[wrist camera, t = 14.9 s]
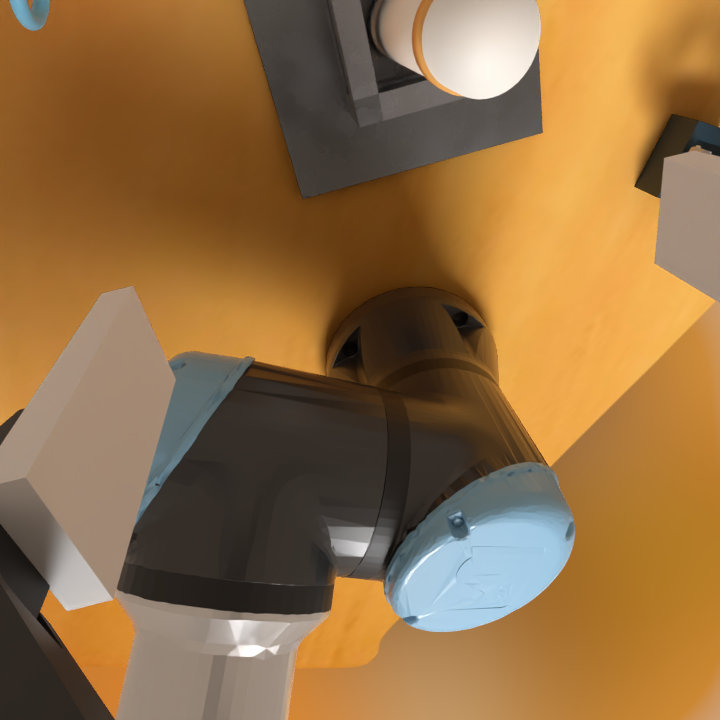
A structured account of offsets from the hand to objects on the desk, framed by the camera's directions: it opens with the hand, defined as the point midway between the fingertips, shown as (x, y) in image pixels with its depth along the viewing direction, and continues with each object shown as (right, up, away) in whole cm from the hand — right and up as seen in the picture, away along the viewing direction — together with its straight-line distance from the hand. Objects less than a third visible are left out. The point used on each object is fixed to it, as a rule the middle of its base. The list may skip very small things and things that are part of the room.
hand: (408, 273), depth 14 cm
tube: (+1, +19, +21) cm, 29 cm away
